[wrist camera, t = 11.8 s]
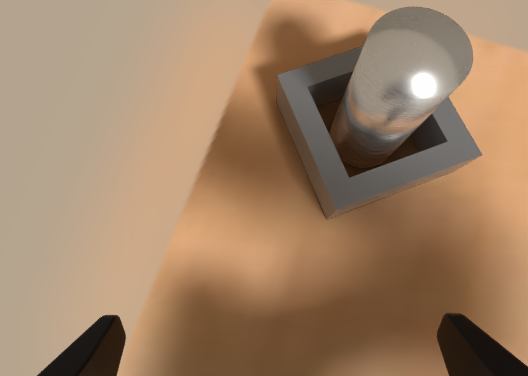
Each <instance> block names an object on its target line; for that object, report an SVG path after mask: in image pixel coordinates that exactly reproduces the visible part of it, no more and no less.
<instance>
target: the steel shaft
mask: <svg viewBox="0 0 528 376" xmlns="http://www.w3.org/2000/svg"><path fill="white" fill-rule="evenodd" d="M472 63H473V50H472V46H471V43H470V40H469V38H468V36H467V35H466V33H465V32H464V30H463V29H462V28H461V27H460V26H459V25H458V24H457V23H456V22H455V21H454V20H452V19H451V18H449V17H448V16H446V15H444V14H442V13H440V12H438V11H435V10H432V9H429V8H423V7H405V8H400V9H396V10H393V11H391V12H389V13H387V14H385V15H384V16H382V17H381V18H380V19H379V20H377V21H376V23H375V24H374V25H373V26H372V28H371V30H370V32H369V34H368V37H367V39H366V42H365V44H364V47H363V49H362V51H361V54H360V56H359V59H358V61H357V64H356V66H355V69H354V71H353V74H352V76H351V78H350V81H349V83H348V86H347V88H346V91H345V93H344V96H343V98H342V101H341V103H340V106H339V108H338V110H337V113H336V115H335V118H334V120H333V123H332V125H331V128H330V133H329V135H330V137H331V139H332V141H333V144H334V146H335V148H336V150H337V152H338V154H339V157H340V159H341V160H342V161H344V162H345V163H347V164H349V165H352V166H355V167H360V168H368V167H373V166H376V165H379V164H381V163H382V162H384V161H385V160H386V159H387V158H388V157H389V156H390V155H391V154H392V153H393V152H394V151H395V150H396V149H397V148H398V147H399V146H400V145H401V144H402V143H403V142H404V141H405V140H406V139H407V138H408V137H409V136H410V135H411V134H412V133H413V132H414V131H415V130H416V129H417V128H418V127H419V126H420V125H421V124H422V123H423V122H424V121H425V120H426V119H427V118H428V117H429V116H430V115H431V114H432V113H433V112H434V111H435V110H436V109H437V108H438V107H439V106H440V104H441V103H442V102H443V101H444V100H445V99H446V98H447V97H448V96H449V95H450V94H451V93H452V92H453V91H454V90H455V89H456V88H457V87H458V86H459V85H460V84H461V83H462V82H463V81H464V80H465V79H466V77H467V76H468V74H469V72H470V70H471V67H472Z"/></svg>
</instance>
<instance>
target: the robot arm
mask: <svg viewBox="0 0 528 376" xmlns="http://www.w3.org/2000/svg"><path fill="white" fill-rule="evenodd" d="M437 339H438V343H439V346H440V349H441V352H442V355H443V358H444V361H445V364H446V368H447V371H448V374H449V376H528V366H526V365H525V364H524V363H523V362H521V361H520V360H519V359H518V358H516V357H515V356H514V355H513V354H511V353H510V352H509V351H508V350H506V349H505V348H504V347H503V346H502V345H500V344H499V343H498V342H497V341H495V340H494V339H493V338H492V337H490V336H489V335H488V334H487V333H485V332H484V331H483V330H482V329H480V328H479V327H478V326H477V325H475V324H474V323H473V322H472V321H471V320H469V319H468V318H467V317H466V316H464V315H463V314H460V313H446V314H445V315H444V316H443V318H442V321H441V323H440V326H439V329H438V332H437ZM125 340H126V335H125V331H124V328H123V326H122V322H121V320H120V317H119V316H118V315H105V316H102V317H101V318H99V319H98V320H97V321H96V322H95V323H94V324H93V325H92V326H91V327H89V328H88V329H87V330H86V331H85V332H84V333H83V334H82V335H81V336H80V337H79V338H77V339H76V340H75V341H74V342H73V343H72V344H71V345H70V346H69V347H68V348H67V349H65V350H64V351H63V352H62V353H61V354H60V355H59V356H58V357H57V358H56V359H55V360H54V361H52V362H51V364H49V365H48V366H47V367H46V368H45V369H44V370H43V371H41V373H39V374H38V375H37V376H117V372H118V368H119V364H120V360H121V356H122V353H123V349H124V345H125Z"/></svg>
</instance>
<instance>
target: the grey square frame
mask: <svg viewBox="0 0 528 376" xmlns="http://www.w3.org/2000/svg"><path fill="white" fill-rule="evenodd" d="M363 47H364V46H362V47H359V48H356V49H353V50H350V51H347V52H344V53H341V54H338V55H335V56H332V57H329V58H326V59H323V60H320V61H317V62H314V63H311V64H308V65H305V66H302V67H299V68H296V69H293V70H290V71H287V72H284V73H281V74H278V75H277V90H276V102H277V104H278V107H279V109H280V111H281V114H282V116H283V118H284V121H285V123H286V125H287V128H288V130H289V133H290V135H291V137H292V140H293V142H294V144H295V147H296V149H297V151H298V154H299V156H300V158H301V161H302V163H303V165H304V168H305V170H306V172H307V175H308V177H309V179H310V182H311V184H312V186H313V189H314V191H315V193H316V196H317V198H318V200H319V203H320V205H321V207H322V210H323V212H324V214H325V217H326V219H329V218H331V217H334V216H337V215H339V214H342V213H345V212H347V211H350V210H353V209H355V208H358V207H361V206H363V205H366V204H369V203H371V202H374V201H377V200H379V199H382V198H385V197H387V196H390V195H393V194H395V193H398V192H401V191H403V190H406V189H408V188H411V187H414V186H416V185H419V184H422V183H424V182H427V181H430V180H432V179H435V178H438V177H440V176H443V175H446V174H448V173H451V172H453V171H455V170H457V169H459V168H460V167H462V166H464V165H466V164H467V163H469V162H471V161H473V160H475V159H476V158H478V157H480V156H482V153H481V152H480V150H479V148H478V147H477V145H476V143H475V141H474V140H473V138H472V136H471V135H470V133H469V131H468V130H467V128H466V126H465V124H464V123H463V121H462V119H461V118H460V116H459V114H458V113H457V111H456V109H455V107H454V106H453V104H452V102H451V101H450V99H449V97H447V98H446V99H445V100H444V101H443V102H442V103H441V104H440V106H439V107H438V108H437V109H436V110H435V111H434V112H433V113H432V114H431V115H430V116H429V117H428V118H427V119H426V120H425V121H424V122H423V123H422V124H421V125H420V126H419V127H418V128H417V129H416V130H415V131H414V132H413V133H412V134H411V135H410V136H411V138H412V140H413V142H414V143H415V145H416V147H417V149H418V151H419V152H418V153H415V154H413V155H410V156H407V157H405V158H402V159H399V160H396V161H394V162H391V163H388V164H386V165H383V166H380V167H377V168H375V169H372V170H369V171H367V172H364V173H361V174H358V175H356V176H353V177H350V178H349V176H348V174H347V172H346V170H345V167H344V165H343V163H342V161H341V159H340V157H339V154H338V152H337V150H336V148H335V146H334V144H333V141H332V139H331V137H330V135H329V133H328V131H327V128H326V126H325V124H324V122H323V120H322V118H321V116H320V113H319V111H318V109H317V106H320V105H322V104H325V103H328V102H331V101H334V100H337V99H340V98H343V96H344V93H345V91H346V88H347V86H348V83H349V81H350V78H351V76H352V74H353V71H354V69H355V66H356V64H357V61H358V59H359V56H360V54H361V51H362V49H363Z"/></svg>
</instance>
